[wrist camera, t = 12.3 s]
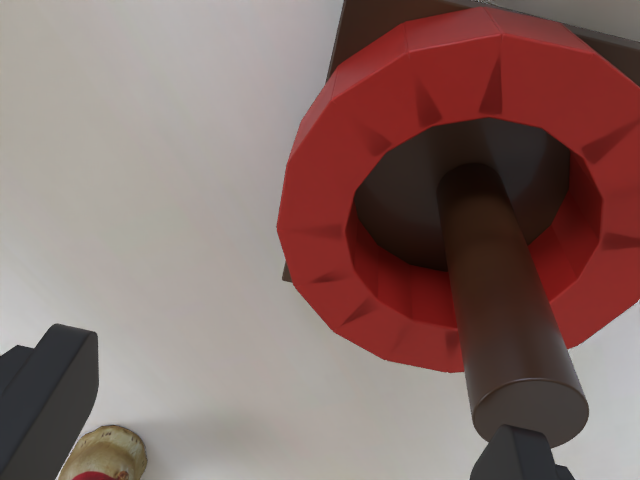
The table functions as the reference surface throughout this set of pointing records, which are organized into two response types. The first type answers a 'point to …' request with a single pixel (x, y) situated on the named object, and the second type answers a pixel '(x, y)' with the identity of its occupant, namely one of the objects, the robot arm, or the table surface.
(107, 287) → the table surface
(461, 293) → the peg stand
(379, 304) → the tape roll
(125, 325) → the table surface
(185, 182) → the table surface
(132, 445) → the chocolate bunny
